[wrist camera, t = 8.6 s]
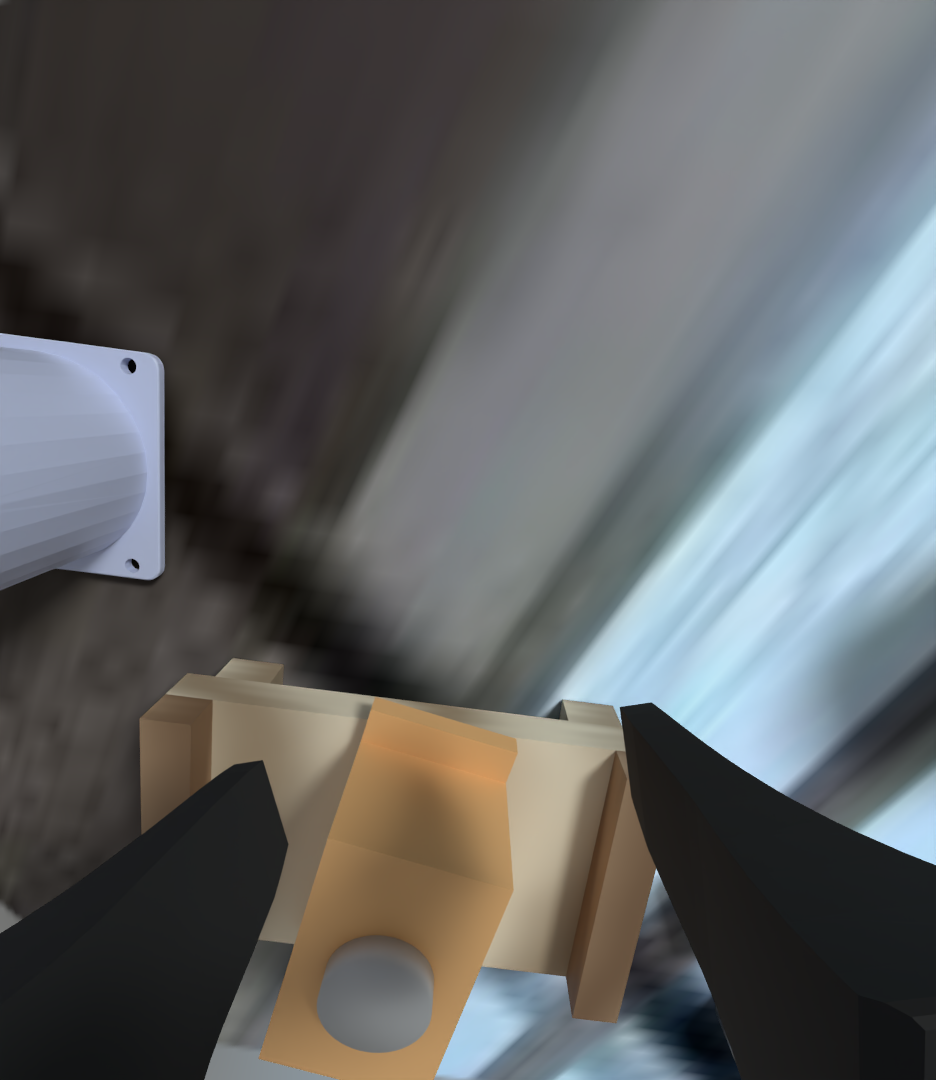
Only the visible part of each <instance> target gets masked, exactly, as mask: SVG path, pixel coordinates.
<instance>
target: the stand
mask: <svg viewBox="0 0 936 1080" xmlns="http://www.w3.org/2000/svg"><path fill="white" fill-rule="evenodd" d="M283 670H284V665H283V664H276V663H268V662H260V661H252V660H244V659H236V658H232V659H231V660H230V661H229V663H228V664H227V665H226V666H225V667H224V668H223V669H222V670H221V671H220V672H219V673H218V674H217V675H216V676H207V675H199V674H191V673H187V674H186V675H185V676H184V677H183V678H182V679H181V680H180V681H179V682H178V683H177V684H176V685H175V686H174V687H173V688H171V689H170V690H169V691H168V692H167V693H166V694H165V695H164V696H163V697H162V698H161V699H160V700H159V701H158V702H157V703H156V704H154V705H153V706H152V707H151V708H150V709H149V710H148V711H147V712H146V713H145V714H144V715H143V716H142V717H141V718H140V777H141V835H142V834H144V833H145V832H146V831H147V830H149V829H150V828H151V827H152V826H154V825H155V824H156V823H157V822H159V821H160V820H161V819H163V818H164V817H165V816H166V815H168V814H169V813H170V812H171V811H173V810H174V809H175V808H176V807H178V806H179V805H180V804H181V803H183V802H184V801H185V800H187V799H188V798H189V797H190V796H192V795H193V794H194V793H195V792H197V791H198V790H199V789H201V788H202V787H203V786H204V785H206V784H207V783H208V782H210V781H211V780H212V779H214V778H215V777H216V776H218V775H219V774H220V773H222V772H223V771H225V770H226V769H228V768H229V767H231V766H232V765H234V764H240V763H247V762H253V761H260V760H263V762H264V765H265V768H266V772H267V775H268V778H269V782H270V785H271V788H272V791H273V795H274V798H275V801H276V805H277V808H278V811H279V814H280V818H281V821H282V824H283V828H284V831H285V834H286V837H287V841H288V844H289V845H288V849H287V853H286V857H285V861H284V865H283V869H282V873H281V877H280V880H279V884H278V887H277V891H276V894H275V898H274V900H273V903H272V906H271V908H270V911H269V913H268V916H267V918H266V921H265V923H264V926H263V928H262V931H261V934H260V936H259V939H258V940H264V941H273V942H281V943H290V944H295V941H296V938H297V934H298V931H299V928H300V925H301V922H302V919H303V915H304V912H305V909H306V906H307V903H308V899H309V896H310V893H311V890H312V887H313V883H314V880H315V877H316V874H317V871H318V867H319V864H320V861H321V858H322V855H323V852H324V848H325V845H326V842H327V839H328V836H329V833H330V830H331V827H332V824H333V821H334V818H335V815H336V812H337V810H338V807H339V804H340V801H341V798H342V795H343V792H344V789H345V786H346V783H347V780H348V777H349V775H350V772H351V769H352V766H353V763H354V760H355V757H356V754H357V751H358V748H359V745H360V742H361V739H362V736H363V733H364V730H365V727H366V724H367V720H368V717H369V714H370V711H371V708H372V705H373V702H374V699H375V697H374V696H366V695H358V694H351V693H343V692H335V691H327V690H319V689H311V688H303V687H295V686H287V685H283ZM378 698H381V699H385V700H388V701H392V702H395V703H398V704H402V705H405V706H408V707H412V708H415V709H418V710H422V711H425V712H428V713H432V714H435V715H438V716H442V717H445V718H448V719H452V720H455V721H458V722H462V723H465V724H469V725H472V726H475V727H479V728H482V729H485V730H489V731H492V732H495V733H499V734H502V735H505V736H509V737H512V738H515V739H516V741H517V750H518V754H517V757H516V759H515V762H514V764H513V767H512V769H511V772H510V774H509V777H508V779H507V782H506V791H507V805H508V818H509V832H510V846H511V860H512V874H513V888H514V891H513V893H512V896H511V898H510V900H509V903H508V905H507V907H506V910H505V912H504V914H503V917H502V919H501V921H500V924H499V926H498V929H497V931H496V933H495V936H494V938H493V940H492V943H491V945H490V947H489V950H488V952H487V955H486V957H485V959H484V962H483V964H482V966H483V967H492V968H500V969H508V970H517V971H525V972H534V973H542V974H550V975H559V976H566V980H567V986H568V993H569V999H570V1006H571V1013H572V1018H577V1019H585V1020H594V1021H602V1022H611V1023H616V1022H617V1019H618V1015H619V1011H620V1007H621V1003H622V999H623V995H624V991H625V987H626V983H627V980H628V976H629V972H630V968H631V964H632V960H633V956H634V952H635V948H636V944H637V940H638V937H639V933H640V929H641V925H642V921H643V917H644V913H645V909H646V905H647V901H648V897H649V894H650V890H651V886H652V882H653V878H654V874H655V870H656V866H655V864H654V862H653V859H652V857H651V855H650V852H649V850H648V848H647V845H646V842H645V839H644V836H643V832H642V829H641V826H640V823H639V820H638V817H637V814H636V810H635V807H634V804H633V801H632V797H631V790H630V782H629V775H628V767H627V759H626V751H625V743H624V735H623V728H622V726H621V723H620V721H619V719H618V717H617V714H616V712H615V710H614V707H613V706H609V705H601V704H593V703H585V702H577V701H569V700H562V705H561V711H560V716H559V720H558V719H550V718H542V717H534V716H526V715H518V714H510V713H502V712H494V711H486V710H478V709H470V708H462V707H454V706H446V705H438V704H430V703H422V702H414V701H406V700H398V699H390V698H382V697H378Z"/></svg>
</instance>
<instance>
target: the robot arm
mask: <svg viewBox="0 0 936 1080" xmlns="http://www.w3.org/2000/svg"><path fill="white" fill-rule="evenodd" d="M131 359H133V361H134V362H135V363H136V371H135V372H134V373H133V374H132V373H131V372H130V371H129V369H128V362H129V361H130V360H131ZM132 559H134V560H136V561H137V562H138V563H139V566H140V567H139V569H136V568H134V567H133V565H132V562H131V561H132ZM55 568H56V569H64V570H72V571H80V572H88V573H96V574H103V575H111V576H119V577H127V578H135V579H143V580H152V579H154V578H156V577H158V576H160V575H161V574H162V573H163V572H164V568H165V467H164V367H163V364H162V362H161V360H160V359H159V358H158V357H157V356H155V355H153V354H150V353H144V352H137V351H129V350H122V349H114V348H107V347H99V346H92V345H84V344H77V343H69V342H62V341H54V340H47V339H39V338H32V337H24V336H17V335H9V334H2V333H0V590H3V589H5V588H8V587H10V586H13V585H15V584H18V583H20V582H23V581H25V580H28V579H30V578H33V577H35V576H38V575H40V574H43V573H45V572H48V571H50V570H53V569H55ZM620 712H621V720H622V728H623V735H624V743H625V751H626V759H627V767H628V775H629V782H630V790H631V797H632V801H633V804H634V807H635V810H636V814H637V817H638V820H639V823H640V826H641V829H642V832H643V836H644V839H645V842H646V845H647V848H648V850H649V852H650V855H651V857H652V859H653V862H654V864H655V866H656V869H657V871H658V873H659V875H660V878H661V880H662V882H663V884H664V887H665V889H666V891H667V893H668V896H669V898H670V900H671V902H672V905H673V907H674V909H675V911H676V914H677V916H678V918H679V920H680V923H681V925H682V927H683V929H684V931H685V934H686V936H687V938H688V940H689V943H690V945H691V947H692V949H693V952H694V954H695V956H696V958H697V961H698V963H699V965H700V967H701V970H702V972H703V974H704V977H705V979H706V982H707V984H708V987H709V989H710V992H711V994H712V997H713V999H714V1002H715V1004H716V1007H717V1010H718V1013H719V1016H720V1019H721V1022H722V1024H723V1027H724V1030H725V1033H726V1036H727V1039H728V1042H729V1044H730V1047H731V1050H732V1053H733V1056H734V1059H735V1062H736V1064H737V1067H738V1070H739V1073H740V1076H741V1079H742V1080H936V865H934V864H931V863H928V862H926V861H923V860H921V859H918V858H916V857H913V856H911V855H908V854H906V853H903V852H901V851H899V850H897V849H894V848H892V847H890V846H887V845H885V844H883V843H881V842H878V841H876V840H874V839H871V838H869V837H867V836H865V835H862V834H860V833H858V832H856V831H853V830H851V829H849V828H847V827H845V826H843V825H841V824H839V823H837V822H835V821H833V820H831V819H829V818H827V817H825V816H823V815H821V814H819V813H817V812H815V811H813V810H812V809H810V808H808V807H806V806H804V805H802V804H800V803H798V802H796V801H794V800H792V799H791V798H789V797H787V796H785V795H784V794H782V793H780V792H778V791H777V790H775V789H773V788H772V787H770V786H768V785H767V784H765V783H764V782H762V781H760V780H759V779H757V778H756V777H754V776H752V775H751V774H749V773H747V772H746V771H744V770H743V769H741V768H740V767H738V766H737V765H735V764H734V763H732V762H731V761H729V760H728V759H726V758H725V757H723V756H722V755H721V754H719V753H718V752H716V751H715V750H714V749H712V748H711V747H709V746H708V745H707V744H705V743H704V742H703V741H701V740H700V739H698V738H697V737H696V736H694V735H693V734H692V733H691V732H689V731H688V730H687V729H685V728H684V727H683V726H681V725H680V724H679V723H678V722H676V721H675V720H674V719H672V718H671V717H670V716H669V715H667V714H666V713H665V712H663V711H662V710H661V709H659V708H658V707H657V706H656V705H654V704H653V703H645V704H638V705H631V706H625V707H620ZM288 845H289V844H288V841H287V837H286V834H285V831H284V828H283V824H282V821H281V818H280V814H279V811H278V808H277V805H276V801H275V798H274V795H273V791H272V788H271V785H270V782H269V778H268V775H267V772H266V768H265V765H264V762H263V760H260V761H253V762H247V763H240V764H234V765H232V766H231V767H229V768H228V769H226V770H225V771H223V772H222V773H220V774H219V775H218V776H216V777H215V778H214V779H212V780H211V781H210V782H208V783H207V784H206V785H204V786H203V787H202V788H201V789H199V790H198V791H197V792H195V793H194V794H193V795H192V796H190V797H189V798H188V799H187V800H185V801H184V802H183V803H181V804H180V805H179V806H178V807H176V808H175V809H174V810H173V811H171V812H170V813H169V814H168V815H166V816H165V817H164V818H163V819H161V820H160V821H159V822H157V823H156V824H155V825H154V826H152V827H151V828H150V829H149V830H147V831H146V832H145V833H144V834H142V835H141V836H140V837H138V838H137V839H136V840H134V841H133V842H132V843H130V844H129V845H128V846H126V847H125V848H124V849H122V850H121V851H120V852H118V853H117V854H116V855H114V856H113V857H112V858H110V859H109V860H108V861H106V862H105V863H104V864H102V865H101V866H100V867H98V868H97V869H95V870H94V871H93V872H91V873H90V874H89V875H87V876H86V877H85V878H83V879H82V880H80V881H79V882H78V883H76V884H75V885H73V886H72V887H71V888H69V889H68V890H66V891H65V892H63V893H62V894H60V895H59V896H57V897H56V898H54V899H53V900H52V901H50V902H48V903H47V904H45V905H44V906H42V907H41V908H39V909H38V910H36V911H35V912H33V913H32V914H30V915H29V916H27V917H26V918H24V919H22V920H21V921H19V922H18V923H16V924H15V925H13V926H11V927H10V928H8V929H7V930H5V931H4V932H2V933H0V1080H204V1079H205V1075H206V1072H207V1069H208V1065H209V1063H210V1059H211V1057H212V1054H213V1051H214V1049H215V1046H216V1043H217V1040H218V1038H219V1035H220V1032H221V1030H222V1027H223V1024H224V1022H225V1020H226V1017H227V1015H228V1012H229V1010H230V1007H231V1005H232V1002H233V1000H234V997H235V995H236V993H237V990H238V988H239V985H240V983H241V980H242V978H243V975H244V973H245V970H246V968H247V966H248V963H249V961H250V958H251V956H252V953H253V951H254V948H255V946H256V944H257V941H258V939H259V936H260V934H261V931H262V928H263V926H264V923H265V921H266V918H267V916H268V913H269V911H270V908H271V906H272V903H273V900H274V898H275V894H276V891H277V887H278V884H279V880H280V877H281V873H282V869H283V865H284V861H285V857H286V853H287V849H288Z"/></svg>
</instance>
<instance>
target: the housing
mask: <svg viewBox="0 0 936 1080" xmlns="http://www.w3.org/2000/svg"><path fill="white" fill-rule="evenodd" d="M517 754H518V750H517V741H516V739H515V738H512V737H509V736H505V735H502V734H499V733H495V732H492V731H489V730H485V729H482V728H479V727H475V726H472V725H469V724H465V723H462V722H458V721H455V720H452V719H448V718H445V717H442V716H438V715H435V714H432V713H428V712H425V711H422V710H418V709H415V708H412V707H408V706H405V705H402V704H398V703H395V702H392V701H388V700H385V699H381V698H378V697H375V699H374V702H373V705H372V708H371V711H370V714H369V717H368V720H367V724H366V727H365V730H364V733H363V736H362V739H361V742H360V745H359V748H358V751H357V754H356V757H355V760H354V763H353V766H352V769H351V772H350V775H349V777H348V780H347V783H346V786H345V789H344V792H343V795H342V798H341V801H340V804H339V807H338V810H337V812H336V815H335V818H334V821H333V824H332V827H331V830H330V833H329V836H328V839H327V842H326V845H325V848H324V852H323V855H322V858H321V861H320V864H319V867H318V871H317V874H316V877H315V880H314V883H313V887H312V890H311V893H310V896H309V899H308V903H307V906H306V909H305V912H304V915H303V919H302V922H301V925H300V928H299V931H298V934H297V938H296V941H295V944H294V947H293V950H292V954H291V957H290V960H289V963H288V966H287V970H286V973H285V976H284V979H283V982H282V986H281V989H280V992H279V995H278V998H277V1001H276V1005H275V1008H274V1011H273V1014H272V1017H271V1021H270V1024H269V1027H268V1030H267V1033H266V1037H265V1040H264V1043H263V1046H262V1049H261V1053H260V1056H259V1059H261V1060H265V1061H269V1062H273V1063H277V1064H281V1065H284V1066H288V1067H292V1068H296V1069H300V1070H304V1071H308V1072H312V1073H316V1074H320V1075H324V1076H327V1077H331V1078H335V1079H339V1080H434V1077H435V1075H436V1073H437V1070H438V1068H439V1065H440V1063H441V1061H442V1058H443V1056H444V1054H445V1051H446V1049H447V1047H448V1044H449V1042H450V1040H451V1037H452V1035H453V1032H454V1030H455V1028H456V1025H457V1023H458V1021H459V1018H460V1016H461V1014H462V1011H463V1009H464V1006H465V1004H466V1002H467V999H468V997H469V995H470V992H471V990H472V988H473V985H474V983H475V981H476V978H477V976H478V973H479V971H480V969H481V966H482V964H483V962H484V959H485V957H486V955H487V952H488V950H489V947H490V945H491V943H492V940H493V938H494V936H495V933H496V931H497V929H498V926H499V924H500V921H501V919H502V917H503V914H504V912H505V910H506V907H507V905H508V903H509V900H510V898H511V896H512V893H513V891H514V888H513V874H512V860H511V846H510V832H509V818H508V805H507V791H506V782H507V779H508V777H509V774H510V772H511V769H512V767H513V764H514V762H515V759H516V757H517Z"/></svg>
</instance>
